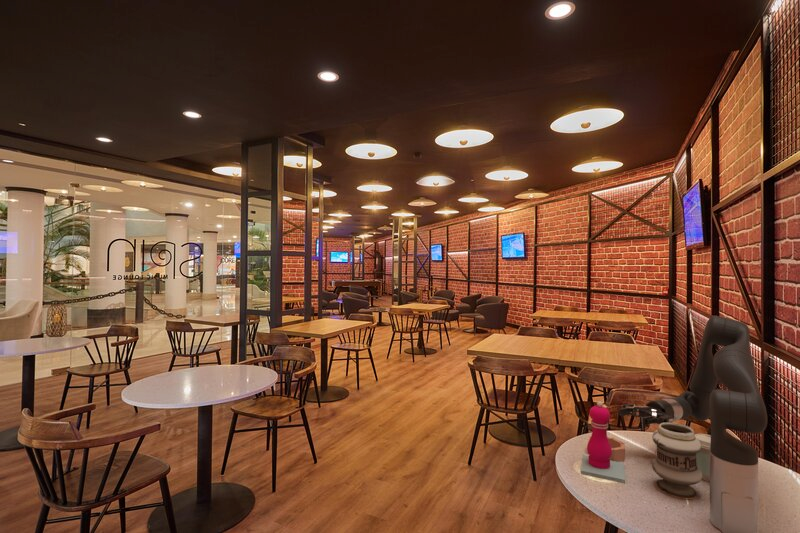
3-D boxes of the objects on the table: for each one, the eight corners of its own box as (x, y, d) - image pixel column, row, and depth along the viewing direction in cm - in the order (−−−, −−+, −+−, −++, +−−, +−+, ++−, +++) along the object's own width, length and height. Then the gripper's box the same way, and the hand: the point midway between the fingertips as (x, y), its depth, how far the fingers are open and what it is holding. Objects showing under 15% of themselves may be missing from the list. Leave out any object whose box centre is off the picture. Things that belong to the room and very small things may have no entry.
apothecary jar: (642, 484, 121) (643, 423, 121) (666, 475, 127) (667, 417, 127) (686, 505, 111) (687, 438, 111) (710, 495, 116) (711, 431, 116)
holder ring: (625, 464, 134) (625, 452, 134) (587, 457, 139) (588, 445, 139) (624, 451, 144) (624, 439, 144) (589, 444, 149) (589, 433, 149)
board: (625, 483, 122) (625, 479, 122) (580, 473, 127) (580, 470, 127) (623, 466, 133) (623, 463, 133) (582, 457, 138) (582, 455, 138)
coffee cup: (732, 486, 121) (733, 445, 121) (700, 483, 123) (700, 442, 123) (716, 472, 129) (717, 434, 129) (686, 469, 131) (686, 431, 131)
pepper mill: (581, 461, 133) (582, 399, 133) (597, 457, 136) (598, 397, 136) (600, 471, 127) (601, 406, 127) (617, 467, 130) (617, 403, 130)
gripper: (644, 394, 147) (612, 398, 141) (685, 406, 134) (652, 412, 128) (644, 415, 147) (612, 420, 141) (685, 429, 134) (652, 436, 128)
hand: (631, 416), depth 134 cm, fingers open, 8 cm apart
